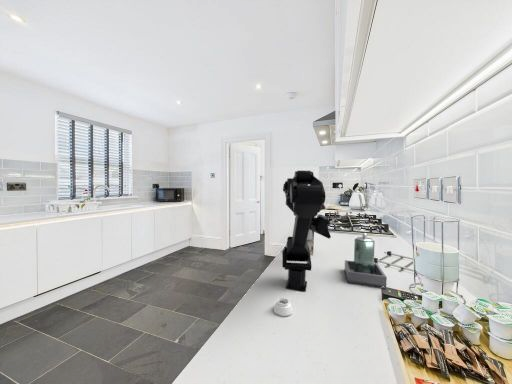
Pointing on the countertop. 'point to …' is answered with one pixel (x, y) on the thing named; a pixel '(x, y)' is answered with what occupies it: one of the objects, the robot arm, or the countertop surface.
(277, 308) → the white jar
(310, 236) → the coffee box
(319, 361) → the countertop surface
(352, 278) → the tray
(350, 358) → the countertop surface
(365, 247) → the spout can
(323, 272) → the countertop surface
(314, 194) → the robot arm
